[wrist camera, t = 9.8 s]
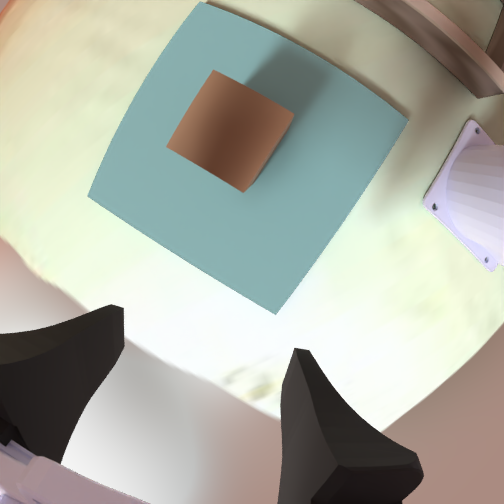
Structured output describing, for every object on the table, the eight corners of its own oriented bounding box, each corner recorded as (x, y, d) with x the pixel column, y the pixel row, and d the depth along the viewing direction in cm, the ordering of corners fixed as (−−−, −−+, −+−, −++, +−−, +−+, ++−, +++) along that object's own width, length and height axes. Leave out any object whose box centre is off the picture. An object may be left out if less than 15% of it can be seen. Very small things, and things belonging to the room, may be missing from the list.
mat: (405, 121, 17) (408, 120, 16) (275, 311, 21) (275, 314, 21) (201, 4, 15) (200, 1, 15) (91, 195, 20) (87, 196, 20)
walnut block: (289, 128, 17) (294, 113, 12) (254, 182, 18) (243, 193, 13) (233, 96, 17) (213, 69, 11) (199, 150, 18) (165, 146, 12)
